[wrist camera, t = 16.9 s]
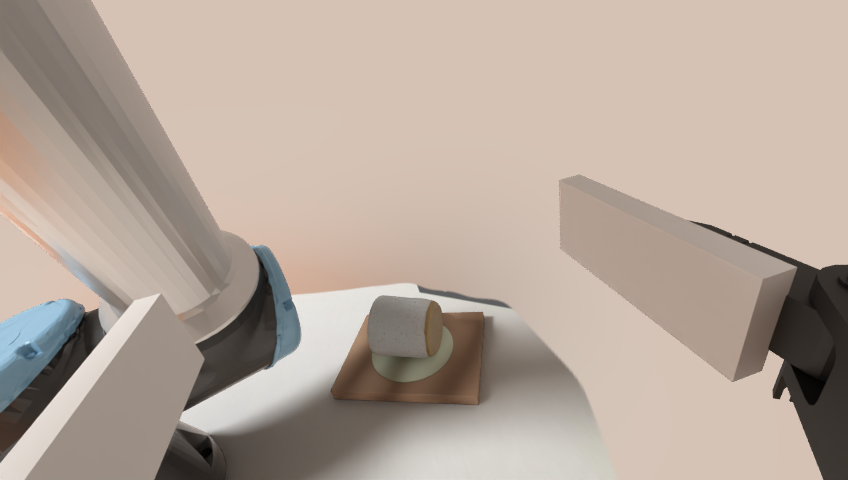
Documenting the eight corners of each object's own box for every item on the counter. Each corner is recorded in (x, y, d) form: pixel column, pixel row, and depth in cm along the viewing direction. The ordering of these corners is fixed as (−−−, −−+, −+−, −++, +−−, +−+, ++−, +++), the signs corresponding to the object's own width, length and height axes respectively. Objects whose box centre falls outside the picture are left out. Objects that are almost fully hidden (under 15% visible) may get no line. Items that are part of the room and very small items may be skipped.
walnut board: (334, 398, 45) (330, 389, 45) (369, 321, 57) (366, 313, 57) (478, 404, 41) (476, 394, 40) (484, 320, 53) (482, 310, 52)
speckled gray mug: (437, 371, 44) (425, 322, 40) (375, 368, 46) (359, 321, 43) (452, 314, 53) (443, 270, 49) (399, 313, 55) (387, 271, 52)
